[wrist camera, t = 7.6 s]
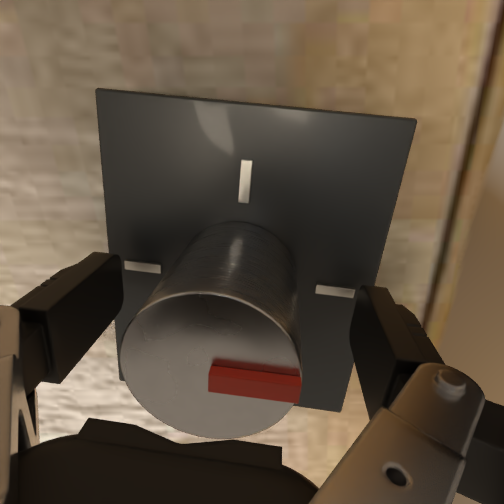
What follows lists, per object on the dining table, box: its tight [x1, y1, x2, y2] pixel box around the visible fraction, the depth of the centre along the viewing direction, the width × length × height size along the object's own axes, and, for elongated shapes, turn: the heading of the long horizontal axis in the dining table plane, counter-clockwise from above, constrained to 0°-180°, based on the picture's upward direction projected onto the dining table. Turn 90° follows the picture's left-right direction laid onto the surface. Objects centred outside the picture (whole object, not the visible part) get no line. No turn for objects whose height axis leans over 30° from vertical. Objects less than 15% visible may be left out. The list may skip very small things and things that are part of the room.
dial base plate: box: [95, 88, 417, 412], centre depth 14 cm, size 12×10×3 cm
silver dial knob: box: [120, 222, 302, 439], centre depth 10 cm, size 4×4×5 cm
